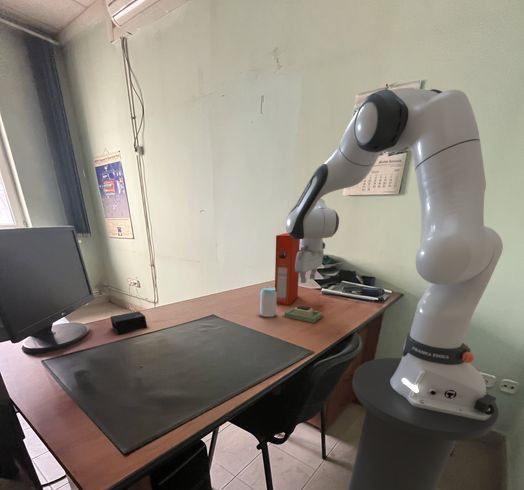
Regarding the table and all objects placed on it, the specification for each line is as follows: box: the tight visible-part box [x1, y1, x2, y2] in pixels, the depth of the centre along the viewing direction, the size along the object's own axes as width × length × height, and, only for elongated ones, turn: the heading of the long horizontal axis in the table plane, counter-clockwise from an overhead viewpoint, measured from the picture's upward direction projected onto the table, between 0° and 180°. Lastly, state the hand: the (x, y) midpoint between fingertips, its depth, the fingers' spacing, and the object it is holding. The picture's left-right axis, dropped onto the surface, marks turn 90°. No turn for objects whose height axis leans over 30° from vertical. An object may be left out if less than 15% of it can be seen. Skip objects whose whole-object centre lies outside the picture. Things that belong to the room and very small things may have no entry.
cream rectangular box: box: [294, 304, 314, 317], centre depth 124 cm, size 7×5×4 cm
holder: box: [284, 306, 323, 324], centre depth 125 cm, size 14×10×2 cm
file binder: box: [274, 232, 300, 306], centre depth 141 cm, size 8×17×32 cm, turn 161°
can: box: [259, 286, 277, 318], centre depth 124 cm, size 7×7×12 cm
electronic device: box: [110, 310, 148, 335], centre depth 109 cm, size 7×11×5 cm
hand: (307, 280), depth 118 cm, fingers open, 8 cm apart
